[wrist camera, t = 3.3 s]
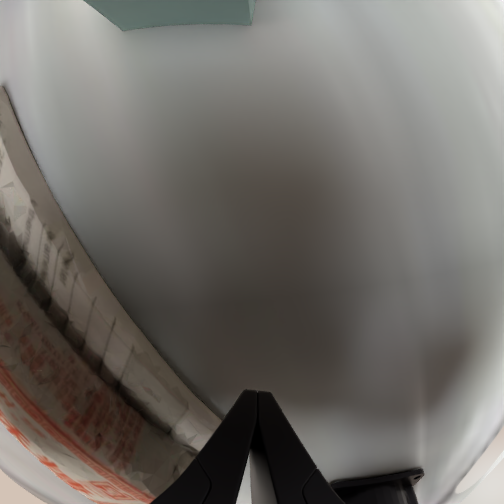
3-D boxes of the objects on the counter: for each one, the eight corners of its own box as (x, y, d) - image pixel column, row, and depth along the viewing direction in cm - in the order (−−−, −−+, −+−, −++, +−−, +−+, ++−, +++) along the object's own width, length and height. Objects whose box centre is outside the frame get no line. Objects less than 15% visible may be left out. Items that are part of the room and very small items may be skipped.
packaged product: (239, 523, 6) (87, 513, 8) (246, 427, 11) (112, 456, 13) (-74, 70, 2) (-114, 239, 4) (11, 80, 7) (-58, 217, 9)
